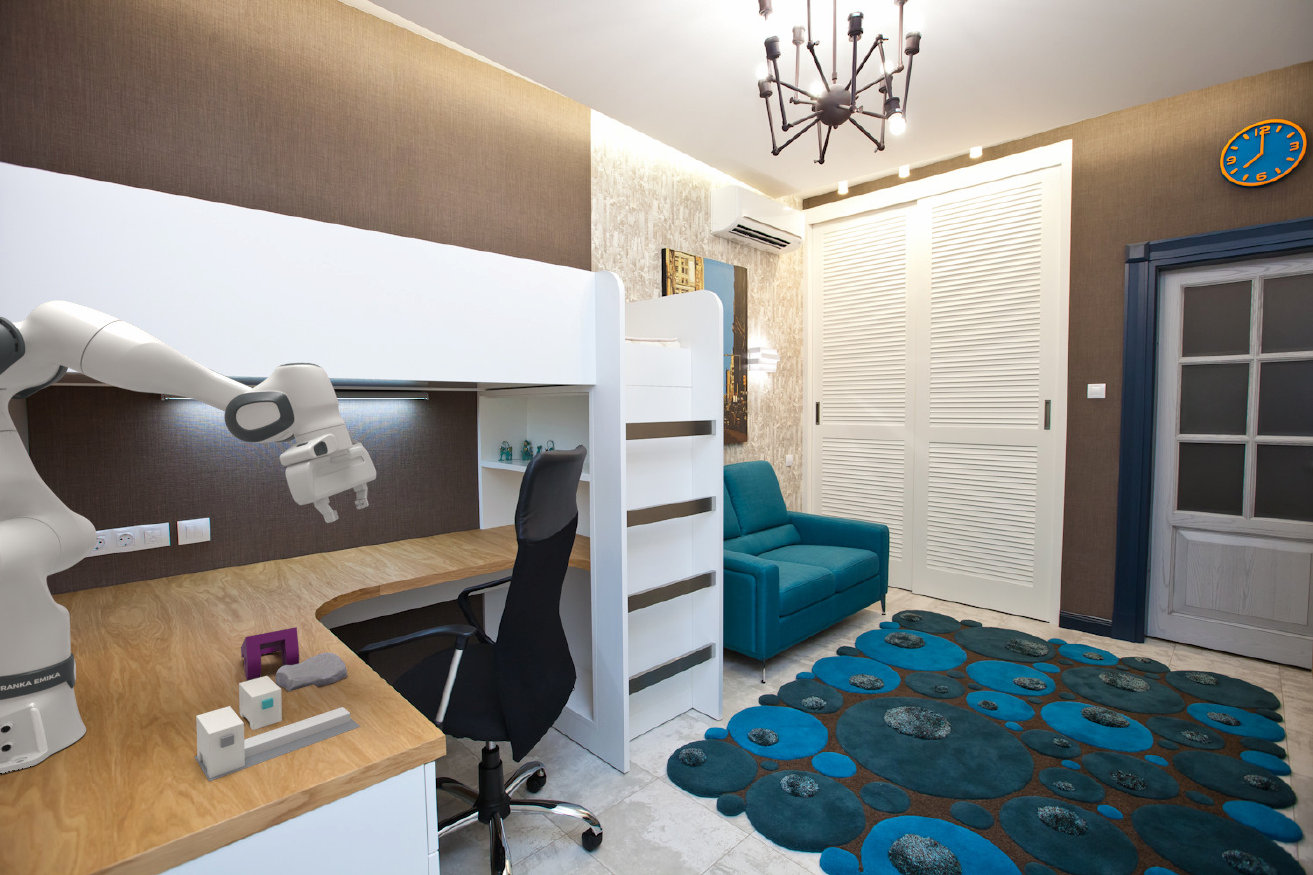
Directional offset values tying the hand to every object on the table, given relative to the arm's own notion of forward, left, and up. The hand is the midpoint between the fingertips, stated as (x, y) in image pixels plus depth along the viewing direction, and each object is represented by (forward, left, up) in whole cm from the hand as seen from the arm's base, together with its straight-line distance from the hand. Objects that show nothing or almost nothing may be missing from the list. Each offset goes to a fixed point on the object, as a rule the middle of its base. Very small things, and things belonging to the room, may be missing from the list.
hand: (348, 514), depth 117 cm
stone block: (-1, +18, -38) cm, 42 cm away
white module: (-14, +5, -37) cm, 40 cm away
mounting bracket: (-5, +34, -38) cm, 51 cm away
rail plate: (-14, -7, -37) cm, 40 cm away
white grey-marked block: (-23, -7, -36) cm, 43 cm away
